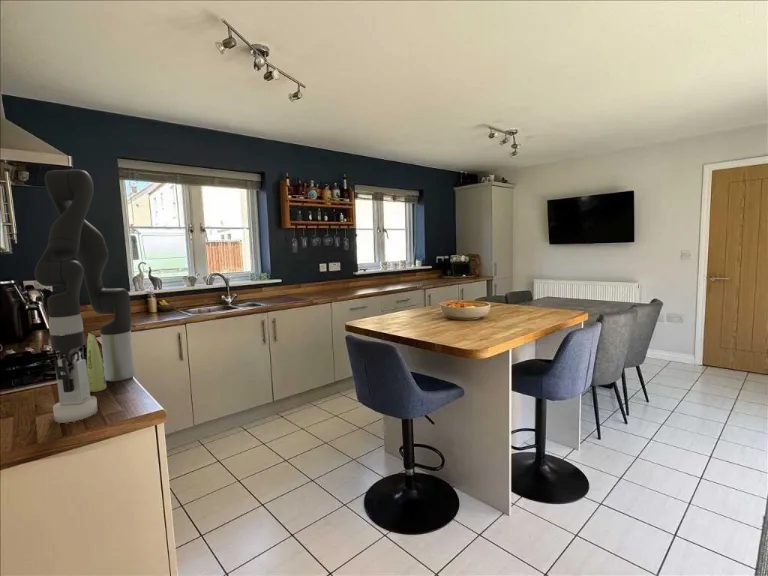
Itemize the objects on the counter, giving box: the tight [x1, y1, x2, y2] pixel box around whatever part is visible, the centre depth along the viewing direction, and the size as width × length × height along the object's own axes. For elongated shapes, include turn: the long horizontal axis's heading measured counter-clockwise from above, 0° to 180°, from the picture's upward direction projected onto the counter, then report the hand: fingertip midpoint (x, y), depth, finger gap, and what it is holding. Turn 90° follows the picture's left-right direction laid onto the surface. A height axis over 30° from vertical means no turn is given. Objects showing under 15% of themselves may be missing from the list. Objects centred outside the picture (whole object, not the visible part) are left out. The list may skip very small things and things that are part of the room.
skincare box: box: [55, 359, 91, 405], centre depth 115 cm, size 6×4×12 cm
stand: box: [52, 395, 99, 424], centre depth 116 cm, size 10×10×4 cm
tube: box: [86, 332, 108, 393], centre depth 135 cm, size 6×5×20 cm
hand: (73, 387), depth 115 cm, fingers open, 6 cm apart
